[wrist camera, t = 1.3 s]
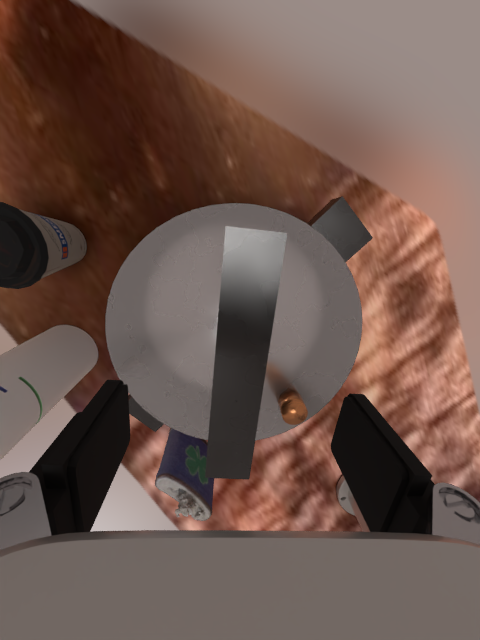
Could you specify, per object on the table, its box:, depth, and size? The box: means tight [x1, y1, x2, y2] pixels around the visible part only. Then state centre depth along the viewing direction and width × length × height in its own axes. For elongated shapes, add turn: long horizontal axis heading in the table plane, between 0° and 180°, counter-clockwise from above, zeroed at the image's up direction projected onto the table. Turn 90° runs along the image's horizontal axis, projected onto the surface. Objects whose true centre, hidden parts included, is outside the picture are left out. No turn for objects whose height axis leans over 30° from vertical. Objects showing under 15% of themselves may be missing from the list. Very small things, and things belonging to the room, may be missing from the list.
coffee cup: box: [0, 202, 87, 289], centre depth 24 cm, size 7×7×10 cm
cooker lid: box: [106, 203, 362, 479], centre depth 18 cm, size 19×19×6 cm
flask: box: [155, 428, 214, 521], centre depth 34 cm, size 9×3×11 cm, turn 37°
